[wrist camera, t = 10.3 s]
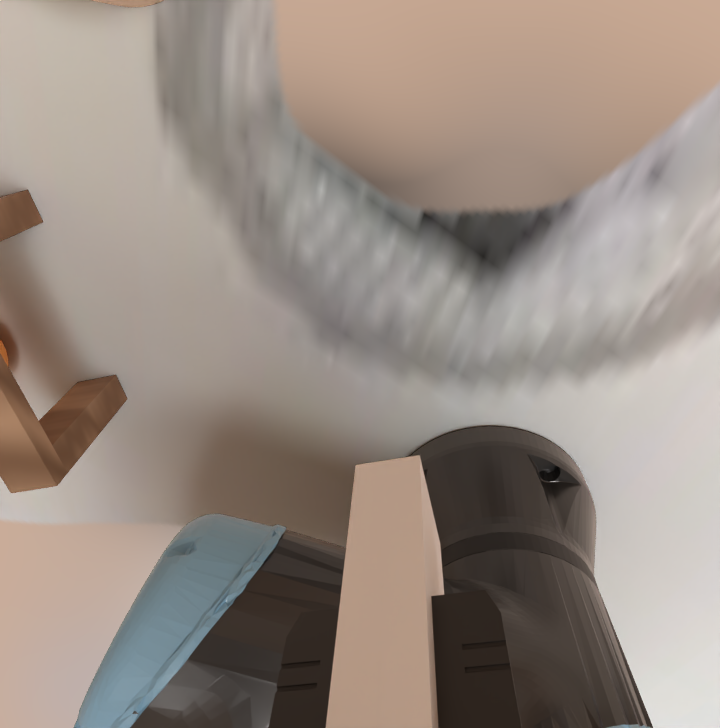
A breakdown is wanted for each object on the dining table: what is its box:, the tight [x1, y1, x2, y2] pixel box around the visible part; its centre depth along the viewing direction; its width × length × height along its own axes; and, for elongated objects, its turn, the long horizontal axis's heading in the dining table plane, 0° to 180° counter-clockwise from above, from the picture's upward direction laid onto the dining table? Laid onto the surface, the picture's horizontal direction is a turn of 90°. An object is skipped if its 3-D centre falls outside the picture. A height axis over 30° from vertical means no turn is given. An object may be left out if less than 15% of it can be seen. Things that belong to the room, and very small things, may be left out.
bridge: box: [0, 190, 127, 493], centre depth 35 cm, size 15×3×10 cm, turn 13°
